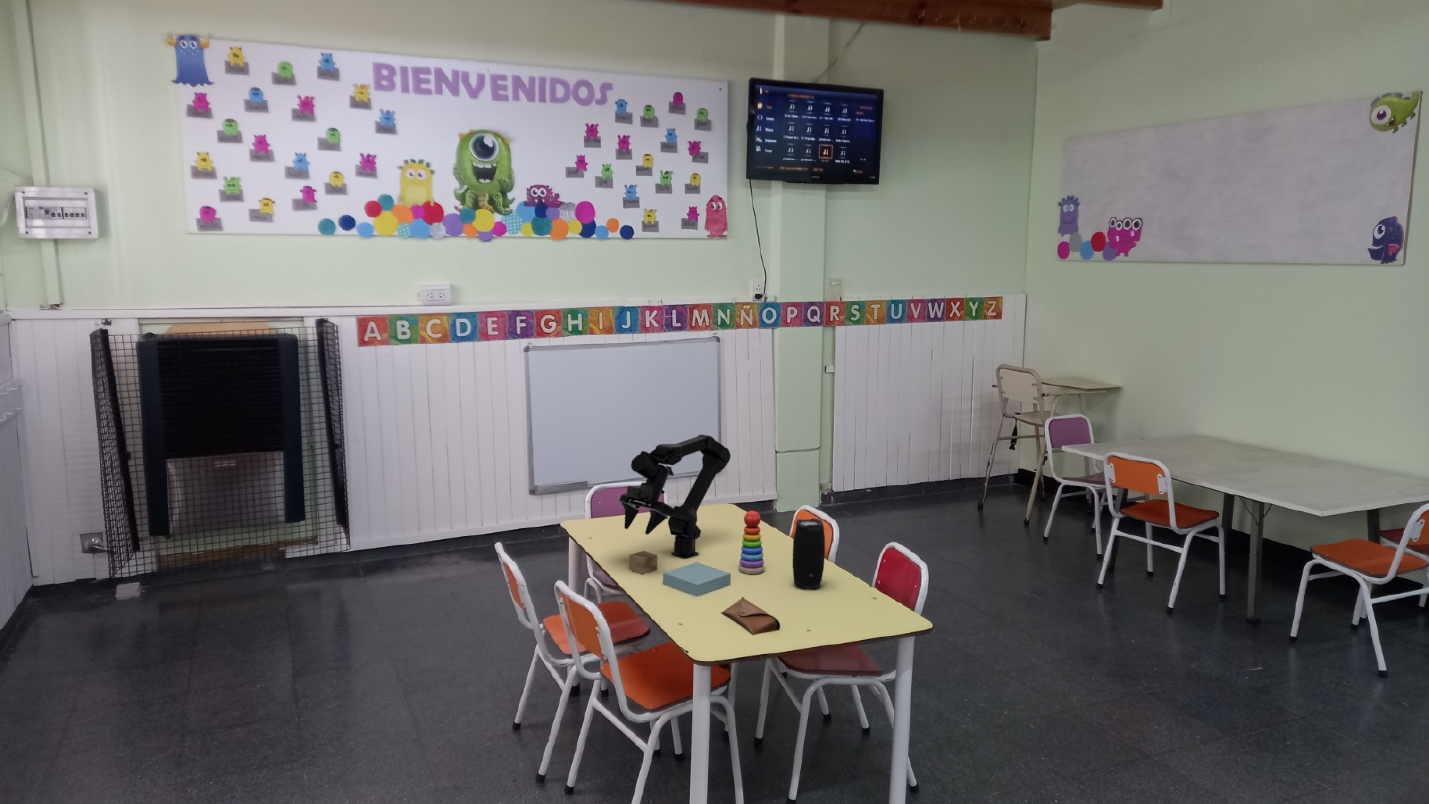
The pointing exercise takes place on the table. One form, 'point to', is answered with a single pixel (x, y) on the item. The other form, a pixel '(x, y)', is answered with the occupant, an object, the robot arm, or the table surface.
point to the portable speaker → (808, 553)
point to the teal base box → (697, 579)
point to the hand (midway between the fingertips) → (636, 531)
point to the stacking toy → (751, 545)
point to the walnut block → (643, 562)
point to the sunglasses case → (751, 617)
